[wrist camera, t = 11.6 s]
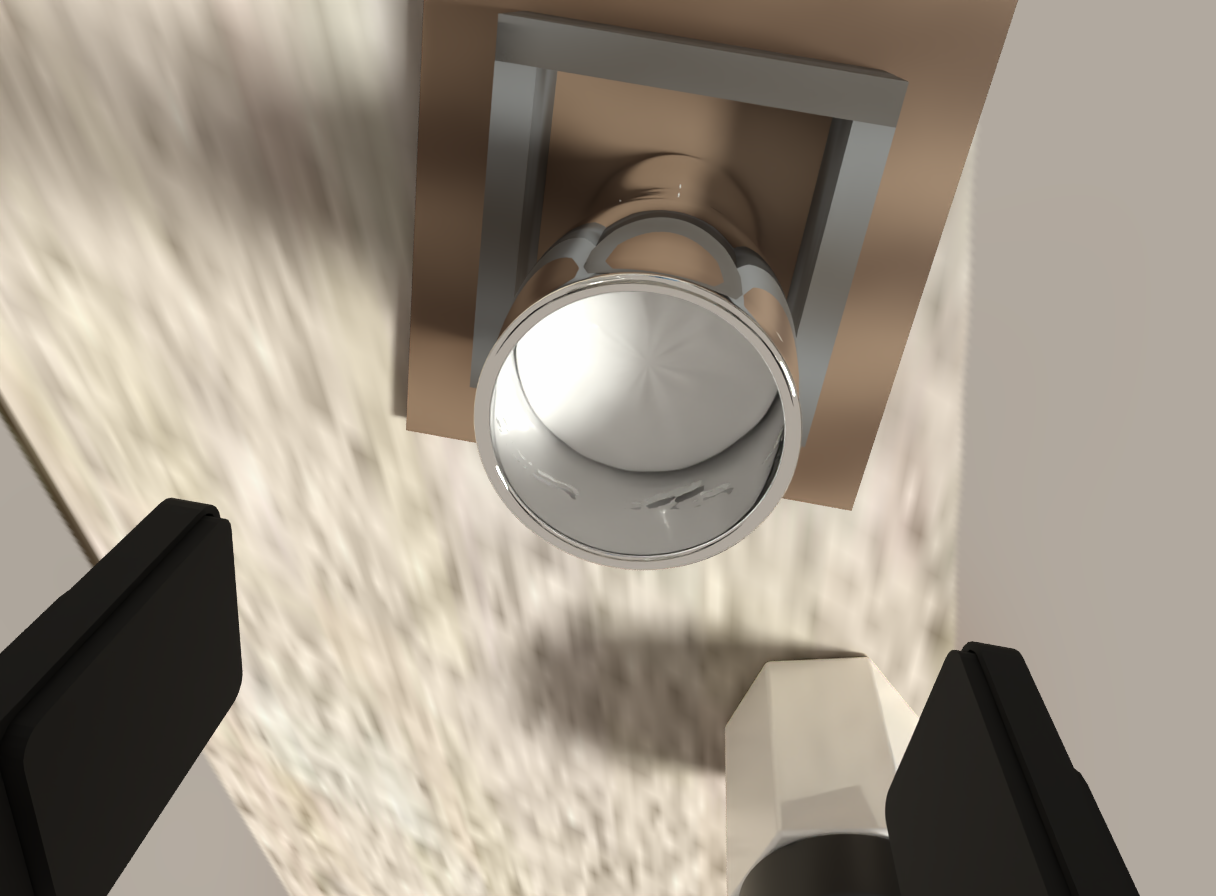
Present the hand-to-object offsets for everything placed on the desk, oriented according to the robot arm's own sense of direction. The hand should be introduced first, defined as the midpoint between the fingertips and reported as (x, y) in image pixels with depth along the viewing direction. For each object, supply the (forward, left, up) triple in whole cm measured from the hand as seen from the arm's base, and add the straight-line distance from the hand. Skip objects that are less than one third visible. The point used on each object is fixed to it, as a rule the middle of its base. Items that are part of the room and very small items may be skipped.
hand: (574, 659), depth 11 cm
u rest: (-1, 0, -23) cm, 23 cm away
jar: (+21, +11, -23) cm, 33 cm away
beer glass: (0, 0, -22) cm, 22 cm away
